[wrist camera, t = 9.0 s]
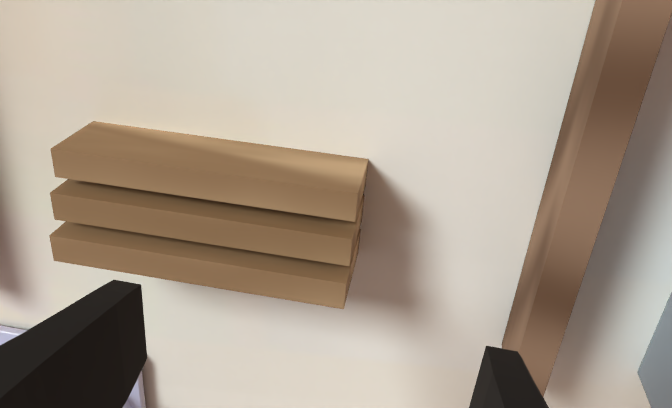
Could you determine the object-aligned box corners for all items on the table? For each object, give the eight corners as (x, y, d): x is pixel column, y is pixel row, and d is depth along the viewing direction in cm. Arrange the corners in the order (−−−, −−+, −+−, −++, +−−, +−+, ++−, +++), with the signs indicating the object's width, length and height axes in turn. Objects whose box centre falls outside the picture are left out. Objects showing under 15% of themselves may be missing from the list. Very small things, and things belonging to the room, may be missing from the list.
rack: (533, 349, 23) (544, 409, 20) (-44, 252, 25) (-101, 293, 23) (775, -436, 12) (863, -523, 10) (-240, -460, 15) (-384, -534, 12)
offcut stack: (358, 249, 22) (343, 308, 19) (107, 210, 23) (53, 260, 20) (368, 157, 20) (354, 205, 17) (95, 119, 22) (35, 159, 18)
